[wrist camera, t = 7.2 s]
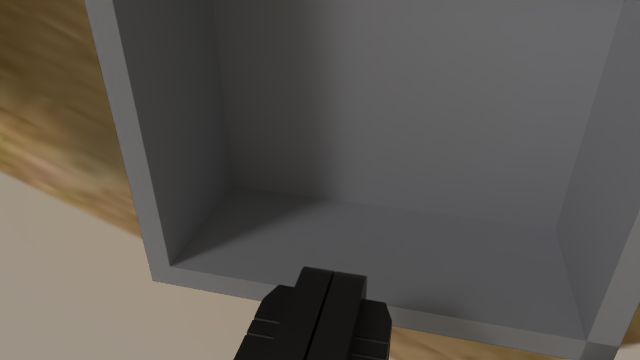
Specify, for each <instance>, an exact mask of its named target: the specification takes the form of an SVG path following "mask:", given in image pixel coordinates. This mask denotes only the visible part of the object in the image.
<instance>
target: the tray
mask: <svg viewBox="0 0 640 360" xmlns="http://www.w3.org/2000/svg"><path fill="white" fill-rule="evenodd" d="M84 2H85V6H86V10H87V14H88V18H89V23H90V27H91V31H92V35H93V39H94V43H95V47H96V51H97V55H98V59H99V63H100V67H101V71H102V76H103V80H104V84H105V88H106V92H107V96H108V100H109V104H110V108H111V112H112V116H113V120H114V124H115V129H116V133H117V137H118V141H119V145H120V149H121V153H122V157H123V161H124V165H125V169H126V173H127V178H128V182H129V186H130V190H131V194H132V198H133V202H134V206H135V210H136V214H137V218H138V222H139V226H140V231H141V235H142V239H143V243H144V247H145V251H146V255H147V259H148V263H149V266H150V271H151V275H152V279H153V281H156V282H161V283H167V284H172V285H177V286H183V287H188V288H193V289H199V290H204V291H209V292H215V293H220V294H225V295H231V296H236V297H241V298H247V299H252V300H257V301H262V300H263V298H264V297H265V296H266V295H268V294H269V293H270V292H271V291H272V290H273V289H274V288H275V287H277V286H278V285H279V284H280V285H285V286H291V287H295V284H296V282H297V280H298V277H299V275H300V272H301V270H302V268H303V267H304V266H307V267H313V268H319V269H325V270H332V271H335V272H336V271H339V272H345V273H351V274H357V275H363V276H367V292H366V299H368V300H374V301H379V302H385V303H386V305H387V308H388V311H389V314H390V316H391V319H392V326H395V327H401V328H406V329H411V330H417V331H422V332H427V333H432V334H438V335H443V336H448V337H454V338H459V339H464V340H470V341H475V342H480V343H486V344H491V345H496V346H502V347H507V348H512V349H518V350H523V351H528V352H533V353H539V354H544V355H549V356H555V357H560V358H565V359H571V360H614V358H615V355H616V353H617V351H618V349H619V347H620V344H621V342H622V340H623V338H624V336H625V333H626V331H627V329H628V327H629V325H630V322H631V320H632V318H633V316H634V314H635V311H636V309H637V307H638V305H639V303H640V0H84Z"/></svg>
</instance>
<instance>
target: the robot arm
mask: <svg viewBox="0 0 640 360" xmlns="http://www.w3.org/2000/svg"><path fill="white" fill-rule="evenodd" d="M366 292H367V276H363V275H357V274H351V273H345V272H339V271H336V272H335V271H332V270H325V269H319V268H313V267H307V266H304V267H303V268H302V270H301V272H300V275H299V277H298V280H297V282H296V284H295V287H291V286H285V285H280V284H279V285H278V286H277V287H275V288H274V289H273V290H272V291H271V292H270V293H269V294H268V295H266V296H265V297H264V298H263V300H262V302H261V304H260V306H259V308H258V310H257V312H256V314H255V317H254V320H252V323H251V325H250V327H249V329H248V331H247V335H245V337H244V339H243V341H242V343H241V345H240V348H239V349H238V352H237V354H236V356H235V358H234V360H389V349H390V339H391V329H392V319H391V316H390V314H389V311H388V308H387V305H386V303H385V302H379V301H374V300H368V299H366Z"/></svg>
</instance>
